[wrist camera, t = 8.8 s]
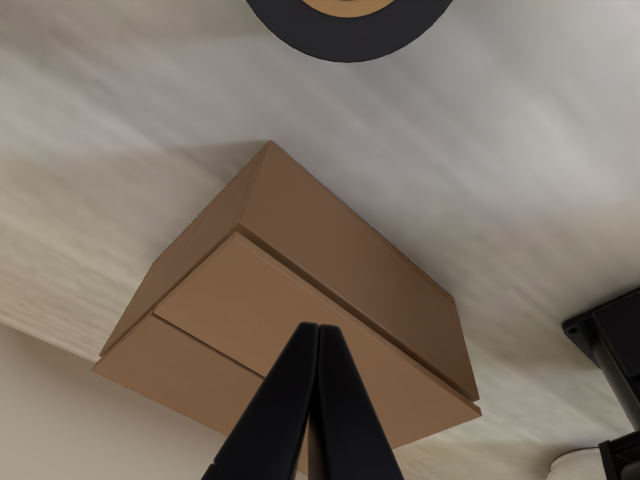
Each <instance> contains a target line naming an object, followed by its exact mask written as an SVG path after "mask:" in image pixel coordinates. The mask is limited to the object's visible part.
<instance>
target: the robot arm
mask: <svg viewBox="0 0 640 480" xmlns="http://www.w3.org/2000/svg"><path fill="white" fill-rule="evenodd" d="M562 329H563V331H564V333H565V335H566V336H567V337H568V338H569V339H570V340H571V341H572V342H573V343H574V344H575V345H576V346H577V347H578V348H580V349H581V350H582V351H583V352H584V353H585V354H586V355H587V356H588V357H589V358H590V359H591V360H592V361H593V362H594V363H595V364H596V365H597V366H598V367H599V368H600V369H601V370H602V371H603V373H604V375H605V377H606V379H607V380H608V382H609V384H610V386H611V388H612V390H613V391H614V393H615V395H616V397H617V399H618V401H619V402H620V404H621V406H622V408H623V410H624V412H625V413H626V415H627V417H628V419H629V421H630V423H631V424H632V426H633V428H634V430H635V432H632V433H630V434H627V435H625V436H622V437H620V438H617V439H615V440H612V441H609V440H607V441H604V442H602V443H599V444H598V446H599V450H600V454H601V458H602V464H603V468H604V471H605V475H606V479H607V480H640V287H639V288H637V289H635V290H633V291H630V292H628V293H626V294H624V295H622V296H620V297H617V298H615V299H613V300H611V301H609V302H607V303H604V304H602V305H600V306H598V307H596V308H594V309H592V310H589V311H587V312H585V313H583V314H581V315H579V316H576V317H574V318H572V319H570V320H568V321H566V322H564V323H563V324H562ZM307 422H308V480H404V478H403V476H402V473H401V471H400V468H399V466H398V464H397V461H396V459H395V457H394V454H393V452H392V449H391V447H390V445H389V442H388V440H387V438H386V435H385V433H384V430H383V428H382V426H381V423H380V421H379V419H378V416H377V414H376V411H375V409H374V407H373V404H372V402H371V400H370V397H369V395H368V392H367V390H366V388H365V385H364V383H363V381H362V378H361V376H360V373H359V371H358V369H357V366H356V364H355V362H354V359H353V357H352V354H351V352H350V350H349V347H348V345H347V343H346V340H345V338H344V335H343V333H342V331H341V329H340V327H339V326H337V325H330V324H321V325H320V328H319V324H318V323H314V322H306V321H302V322H300V323H299V324H298V326H297V328H296V329H295V331H294V332H293V334H292V336H291V337H290V339H289V340H288V342H287V344H286V345H285V347H284V348H283V350H282V352H281V353H280V355H279V356H278V358H277V359H276V361H275V363H274V364H273V366H272V367H271V369H270V371H269V372H268V374H267V375H266V377H265V379H264V380H263V382H262V383H261V385H260V387H259V388H258V390H257V391H256V393H255V395H254V396H253V398H252V399H251V401H250V403H249V404H248V406H247V407H246V409H245V411H244V412H243V414H242V415H241V417H240V419H239V420H238V422H237V423H236V425H235V426H234V428H233V430H232V431H231V433H230V434H229V436H228V438H227V439H226V441H225V442H224V444H223V446H222V447H221V449H220V450H219V452H218V454H217V455H216V457H215V458H214V464H213V463H212V464H210V466H209V468H208V469H207V471H206V472H205V474H204V475H203V477H202V479H201V480H295V477H296V473H297V468H298V464H299V459H300V455H301V451H302V446H303V442H304V438H305V433H306V428H307Z"/></svg>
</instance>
